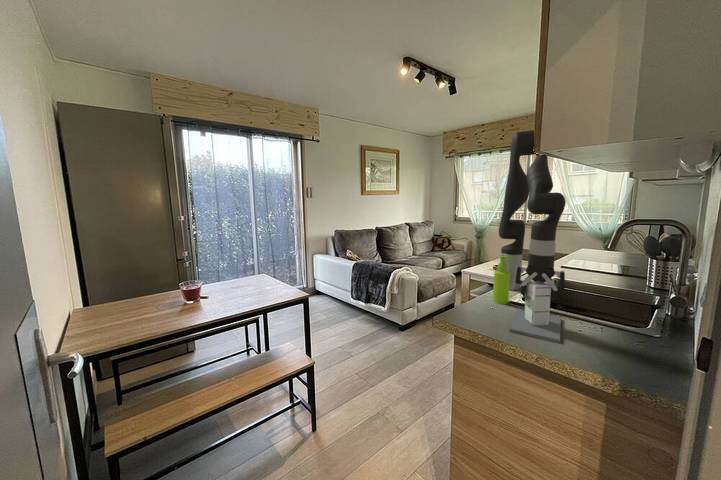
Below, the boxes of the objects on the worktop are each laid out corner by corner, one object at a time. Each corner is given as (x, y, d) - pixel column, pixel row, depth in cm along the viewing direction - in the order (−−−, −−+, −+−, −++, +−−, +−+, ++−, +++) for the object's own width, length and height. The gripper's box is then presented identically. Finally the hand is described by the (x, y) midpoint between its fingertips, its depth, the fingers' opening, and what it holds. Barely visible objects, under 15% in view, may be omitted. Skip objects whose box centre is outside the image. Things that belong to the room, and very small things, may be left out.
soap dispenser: (513, 303, 120) (516, 257, 117) (496, 304, 120) (498, 257, 117) (506, 298, 126) (509, 254, 122) (490, 298, 126) (492, 254, 123)
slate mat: (517, 311, 112) (517, 308, 112) (560, 319, 104) (560, 316, 104) (509, 331, 96) (509, 328, 96) (559, 343, 88) (560, 340, 88)
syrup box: (549, 325, 98) (552, 284, 95) (531, 325, 98) (535, 285, 96) (539, 318, 103) (542, 279, 101) (523, 318, 104) (525, 280, 101)
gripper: (567, 252, 95) (563, 298, 98) (519, 248, 103) (516, 291, 106) (567, 256, 89) (562, 306, 92) (516, 252, 97) (513, 297, 100)
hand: (537, 298), depth 99 cm, fingers open, 8 cm apart
